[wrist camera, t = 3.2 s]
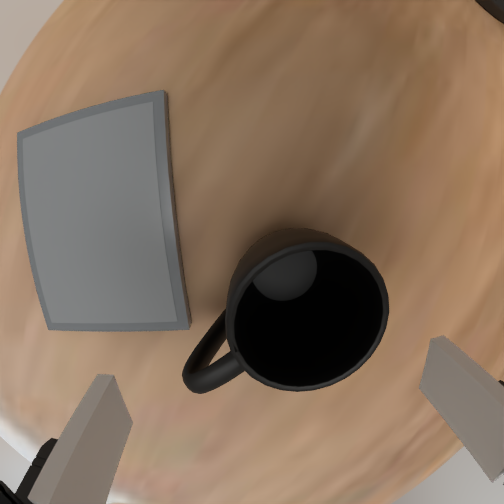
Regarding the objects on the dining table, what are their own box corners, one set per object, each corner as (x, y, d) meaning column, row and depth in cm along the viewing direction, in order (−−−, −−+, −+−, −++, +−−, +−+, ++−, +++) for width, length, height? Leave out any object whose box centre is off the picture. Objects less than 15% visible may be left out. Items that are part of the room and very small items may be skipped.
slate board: (25, 133, 19) (16, 132, 18) (167, 94, 19) (163, 89, 18) (54, 324, 23) (48, 330, 22) (191, 322, 23) (189, 330, 22)
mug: (169, 279, 23) (129, 340, 13) (302, 194, 22) (348, 204, 12) (228, 355, 24) (225, 437, 15) (351, 282, 23) (409, 338, 14)
